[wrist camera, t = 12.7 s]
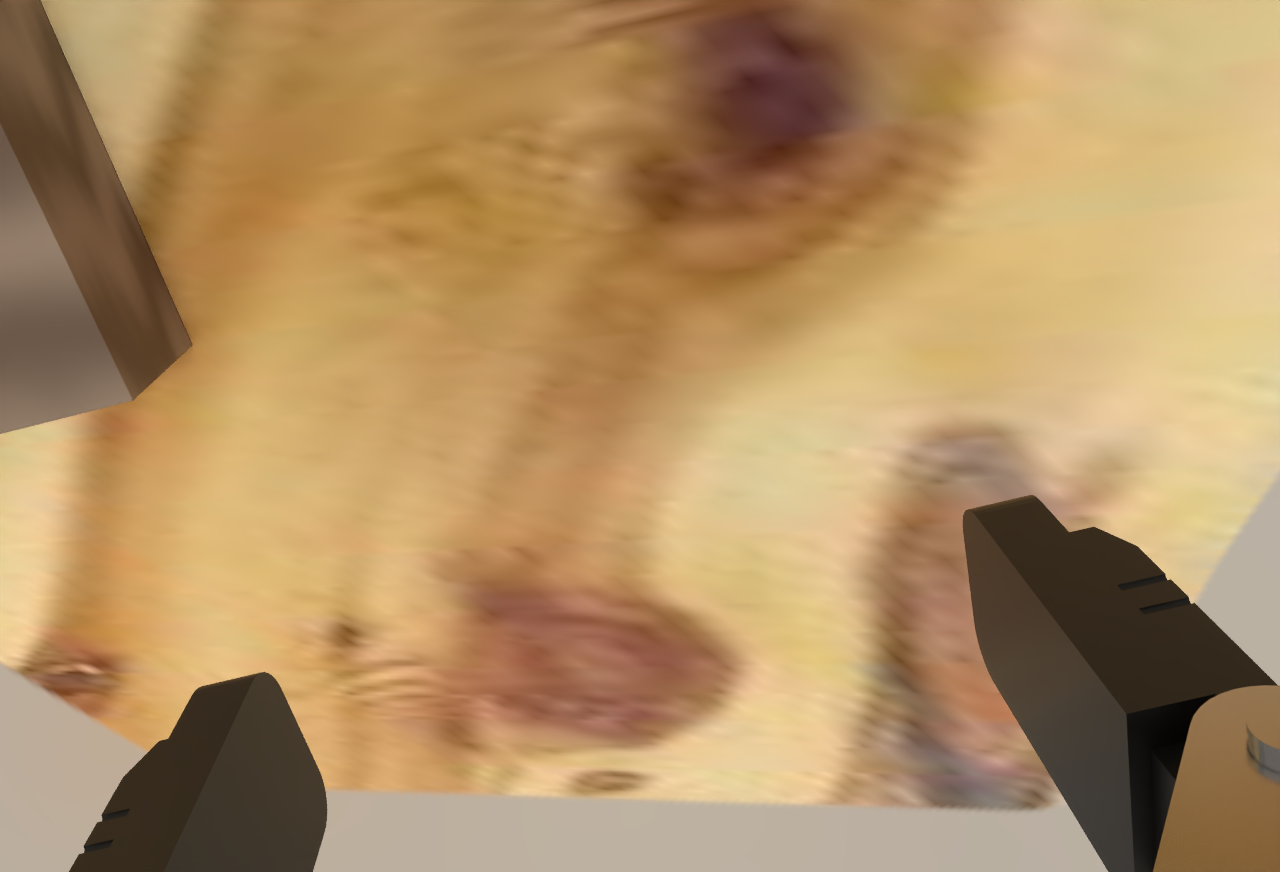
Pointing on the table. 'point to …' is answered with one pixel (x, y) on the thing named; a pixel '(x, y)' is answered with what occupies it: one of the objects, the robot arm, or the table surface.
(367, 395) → the table surface
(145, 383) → the walnut block
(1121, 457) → the table surface
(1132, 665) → the robot arm
